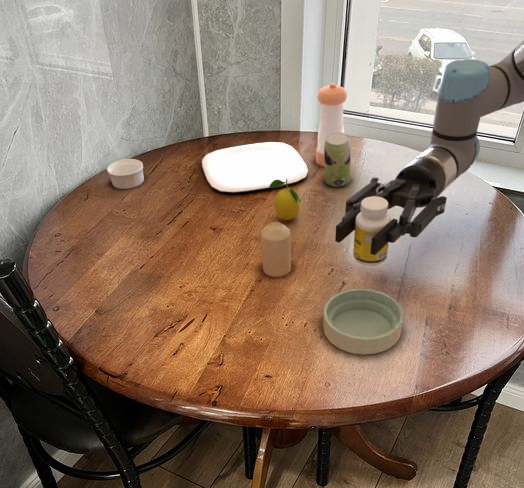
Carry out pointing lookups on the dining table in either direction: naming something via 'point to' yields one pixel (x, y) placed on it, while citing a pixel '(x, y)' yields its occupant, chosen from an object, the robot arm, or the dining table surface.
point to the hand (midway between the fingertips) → (355, 240)
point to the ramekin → (126, 173)
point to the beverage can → (337, 159)
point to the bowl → (362, 321)
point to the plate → (253, 167)
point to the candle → (276, 249)
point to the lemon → (286, 201)
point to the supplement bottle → (370, 230)
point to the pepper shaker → (329, 116)
